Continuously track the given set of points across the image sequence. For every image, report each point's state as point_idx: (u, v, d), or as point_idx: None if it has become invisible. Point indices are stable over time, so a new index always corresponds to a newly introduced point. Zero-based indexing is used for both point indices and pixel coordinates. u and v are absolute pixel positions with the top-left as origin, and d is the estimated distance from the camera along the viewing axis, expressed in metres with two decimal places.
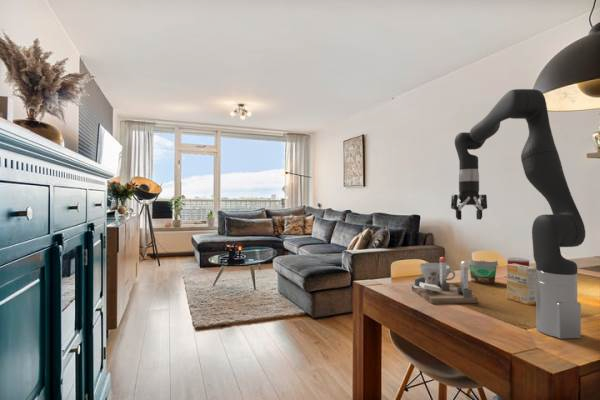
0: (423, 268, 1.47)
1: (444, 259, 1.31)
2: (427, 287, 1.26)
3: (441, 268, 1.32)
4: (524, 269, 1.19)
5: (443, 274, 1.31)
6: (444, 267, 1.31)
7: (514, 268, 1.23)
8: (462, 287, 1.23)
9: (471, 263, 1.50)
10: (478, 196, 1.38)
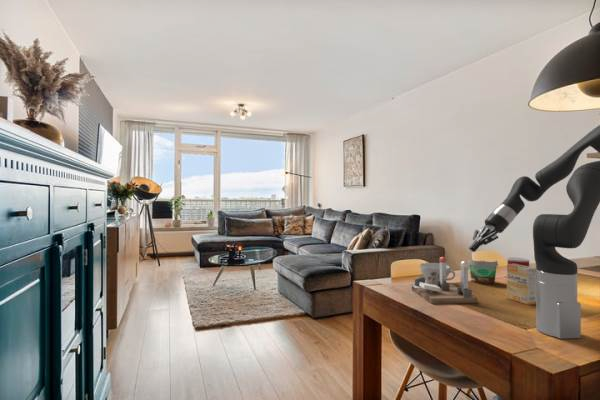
0: (423, 268, 1.47)
1: (444, 259, 1.31)
2: (427, 287, 1.26)
3: (441, 268, 1.32)
4: (524, 269, 1.19)
5: (443, 274, 1.31)
6: (444, 267, 1.31)
7: (514, 268, 1.23)
8: (462, 287, 1.23)
9: (471, 263, 1.50)
10: None
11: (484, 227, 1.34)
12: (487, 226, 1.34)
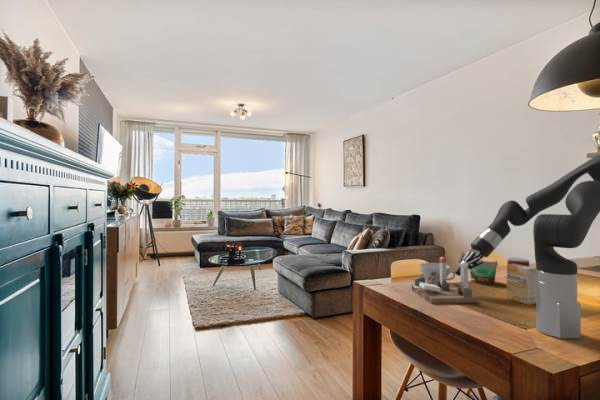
0: (423, 268, 1.47)
1: (444, 259, 1.31)
2: (427, 287, 1.26)
3: (441, 268, 1.32)
4: (524, 269, 1.19)
5: (443, 274, 1.31)
6: (444, 267, 1.31)
7: (514, 268, 1.23)
8: (462, 287, 1.23)
9: None
10: None
11: (470, 251, 1.34)
12: (473, 250, 1.34)
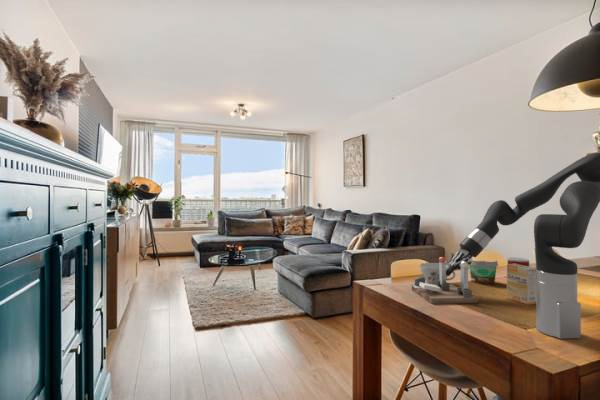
0: (423, 268, 1.47)
1: (443, 259, 1.31)
2: (427, 287, 1.26)
3: (441, 268, 1.32)
4: (524, 269, 1.19)
5: (443, 274, 1.31)
6: (444, 267, 1.31)
7: (514, 268, 1.23)
8: (462, 287, 1.23)
9: (471, 263, 1.50)
10: None
11: (459, 251, 1.34)
12: (462, 250, 1.34)
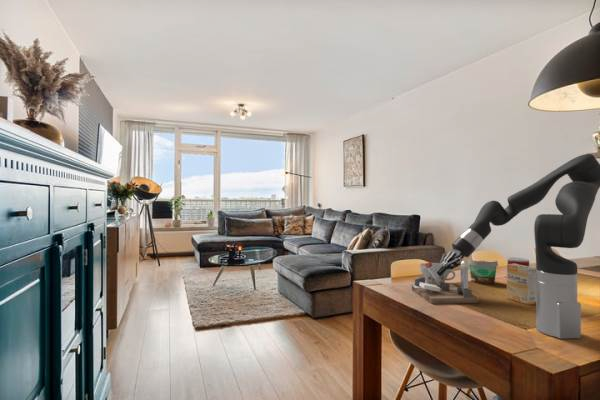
0: (423, 268, 1.47)
1: (429, 264, 1.31)
2: (427, 287, 1.26)
3: (431, 272, 1.32)
4: (524, 269, 1.19)
5: (436, 277, 1.31)
6: (433, 270, 1.31)
7: (514, 268, 1.23)
8: (462, 287, 1.23)
9: (471, 263, 1.50)
10: None
11: (451, 251, 1.34)
12: (454, 250, 1.34)
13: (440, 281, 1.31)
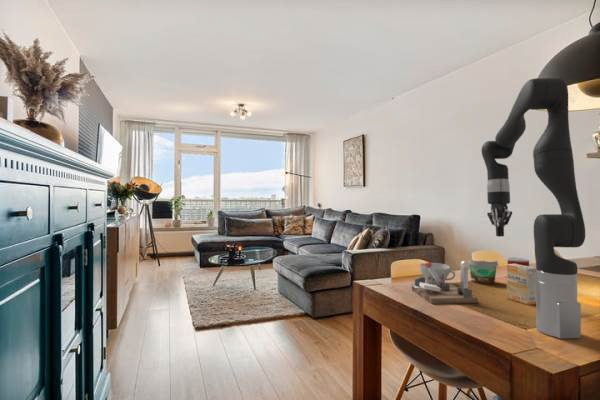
0: (423, 268, 1.47)
1: (429, 264, 1.31)
2: (427, 287, 1.26)
3: (431, 272, 1.32)
4: (524, 269, 1.19)
5: (436, 277, 1.31)
6: (433, 270, 1.31)
7: (514, 268, 1.23)
8: (462, 287, 1.23)
9: (471, 263, 1.50)
10: None
11: (492, 208, 1.30)
12: (494, 205, 1.30)
13: (440, 281, 1.31)
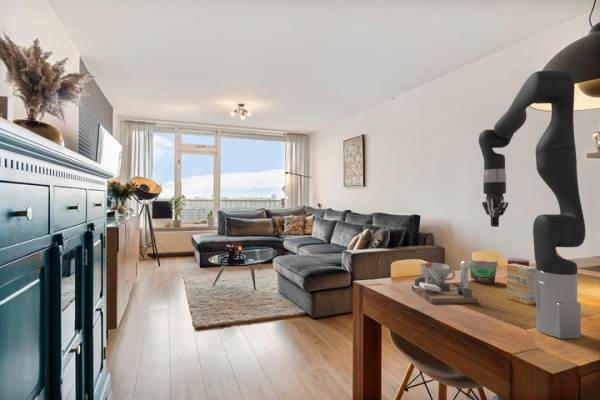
0: (423, 268, 1.47)
1: (429, 264, 1.31)
2: (427, 287, 1.26)
3: (431, 272, 1.32)
4: (524, 269, 1.19)
5: (436, 277, 1.31)
6: (433, 270, 1.31)
7: (514, 268, 1.23)
8: (462, 287, 1.23)
9: (471, 263, 1.50)
10: None
11: (488, 199, 1.29)
12: (489, 195, 1.29)
13: (440, 281, 1.31)
